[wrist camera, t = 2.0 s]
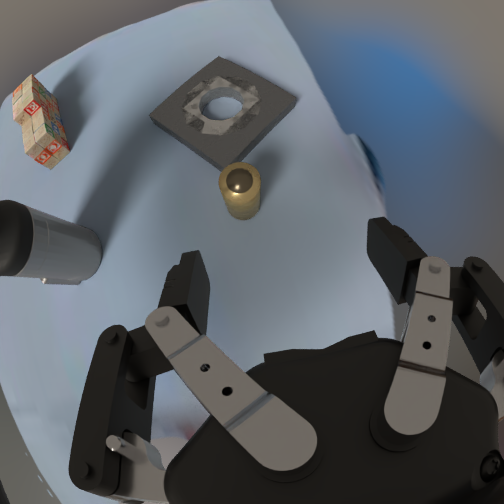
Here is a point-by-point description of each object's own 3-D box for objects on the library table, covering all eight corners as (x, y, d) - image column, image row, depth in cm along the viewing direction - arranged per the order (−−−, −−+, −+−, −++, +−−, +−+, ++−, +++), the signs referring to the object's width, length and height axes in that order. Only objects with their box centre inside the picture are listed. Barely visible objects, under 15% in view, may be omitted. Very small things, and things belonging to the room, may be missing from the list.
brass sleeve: (245, 226, 42) (242, 208, 31) (220, 206, 42) (209, 183, 32) (266, 202, 42) (269, 177, 32) (241, 183, 42) (237, 154, 32)
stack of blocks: (71, 151, 44) (37, 125, 32) (51, 170, 44) (14, 148, 31) (56, 98, 46) (31, 72, 34) (38, 114, 46) (12, 91, 34)
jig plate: (227, 176, 43) (225, 168, 40) (154, 123, 44) (149, 115, 41) (294, 107, 44) (296, 97, 41) (220, 65, 45) (218, 56, 42)
